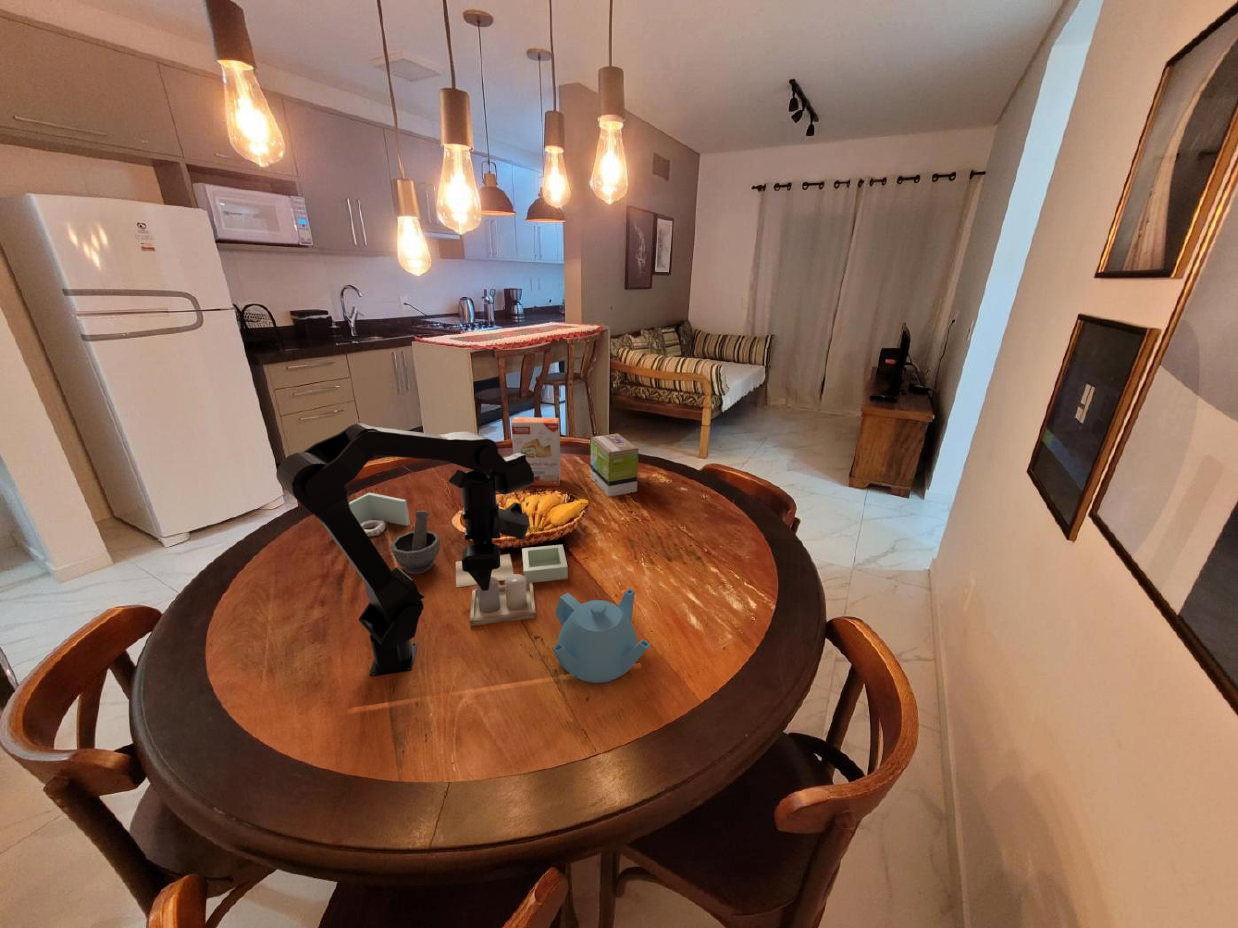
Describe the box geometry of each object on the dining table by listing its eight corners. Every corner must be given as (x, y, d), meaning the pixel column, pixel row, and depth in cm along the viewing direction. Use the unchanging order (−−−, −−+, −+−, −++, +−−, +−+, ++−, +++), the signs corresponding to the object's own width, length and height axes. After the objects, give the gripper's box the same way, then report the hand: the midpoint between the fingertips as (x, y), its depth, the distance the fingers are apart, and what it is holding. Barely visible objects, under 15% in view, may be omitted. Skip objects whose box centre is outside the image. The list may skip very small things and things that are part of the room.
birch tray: (535, 619, 92) (535, 612, 91) (470, 627, 89) (469, 620, 88) (532, 588, 101) (532, 581, 100) (473, 595, 98) (472, 588, 98)
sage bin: (567, 580, 104) (567, 566, 102) (524, 585, 102) (523, 571, 100) (562, 557, 112) (562, 544, 111) (522, 561, 110) (522, 548, 109)
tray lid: (514, 580, 103) (514, 573, 102) (456, 589, 100) (455, 582, 99) (509, 556, 112) (509, 549, 111) (455, 563, 108) (455, 557, 108)
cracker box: (514, 486, 148) (510, 421, 141) (517, 478, 154) (513, 416, 146) (559, 486, 149) (558, 422, 141) (561, 479, 155) (559, 416, 147)
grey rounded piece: (500, 611, 93) (498, 588, 91) (478, 614, 92) (476, 590, 90) (500, 598, 96) (498, 575, 94) (479, 601, 96) (477, 578, 94)
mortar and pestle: (432, 581, 102) (425, 532, 98) (388, 580, 102) (379, 531, 98) (450, 553, 113) (444, 507, 108) (410, 552, 113) (403, 506, 108)
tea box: (589, 479, 155) (589, 435, 150) (617, 474, 159) (618, 432, 154) (608, 497, 143) (608, 451, 137) (638, 492, 147) (640, 446, 141)
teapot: (636, 625, 91) (638, 577, 87) (649, 688, 77) (652, 634, 73) (555, 629, 89) (553, 580, 86) (553, 694, 76) (551, 640, 72)
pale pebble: (527, 608, 94) (526, 584, 92) (506, 610, 93) (504, 587, 91) (526, 595, 98) (525, 573, 96) (506, 598, 97) (504, 575, 95)
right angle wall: (336, 539, 118) (330, 512, 115) (373, 517, 129) (369, 492, 126) (374, 548, 115) (369, 520, 112) (410, 525, 125) (406, 499, 122)
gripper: (528, 522, 79) (531, 600, 85) (523, 479, 96) (526, 546, 102) (457, 528, 77) (466, 608, 82) (465, 482, 94) (472, 551, 99)
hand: (486, 575), depth 91 cm, fingers open, 9 cm apart
